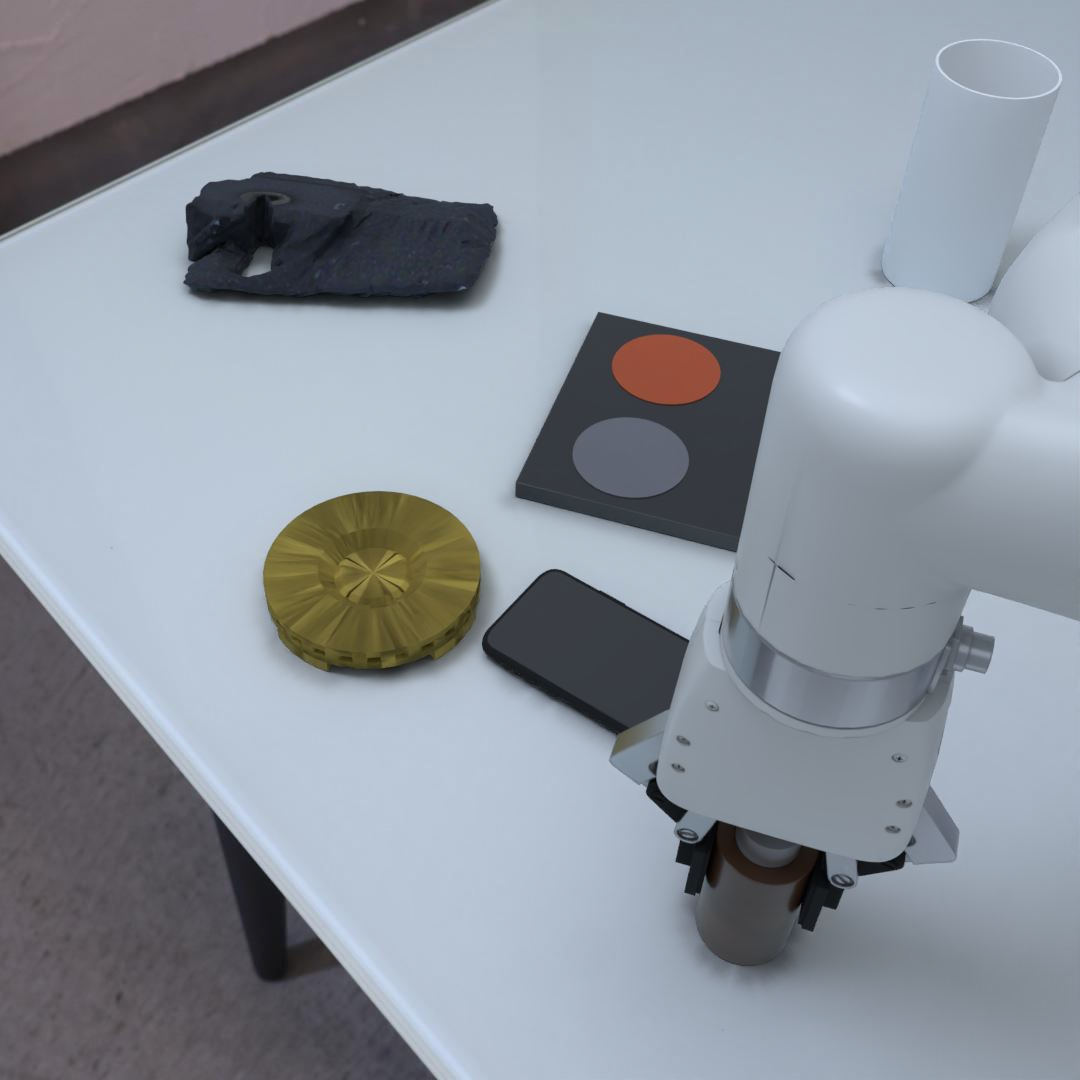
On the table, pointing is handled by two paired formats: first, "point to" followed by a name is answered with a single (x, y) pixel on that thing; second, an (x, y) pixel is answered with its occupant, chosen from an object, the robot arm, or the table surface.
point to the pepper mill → (752, 894)
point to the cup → (969, 166)
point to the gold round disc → (372, 581)
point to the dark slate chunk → (333, 238)
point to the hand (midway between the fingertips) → (754, 881)
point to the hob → (655, 431)
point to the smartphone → (588, 650)
